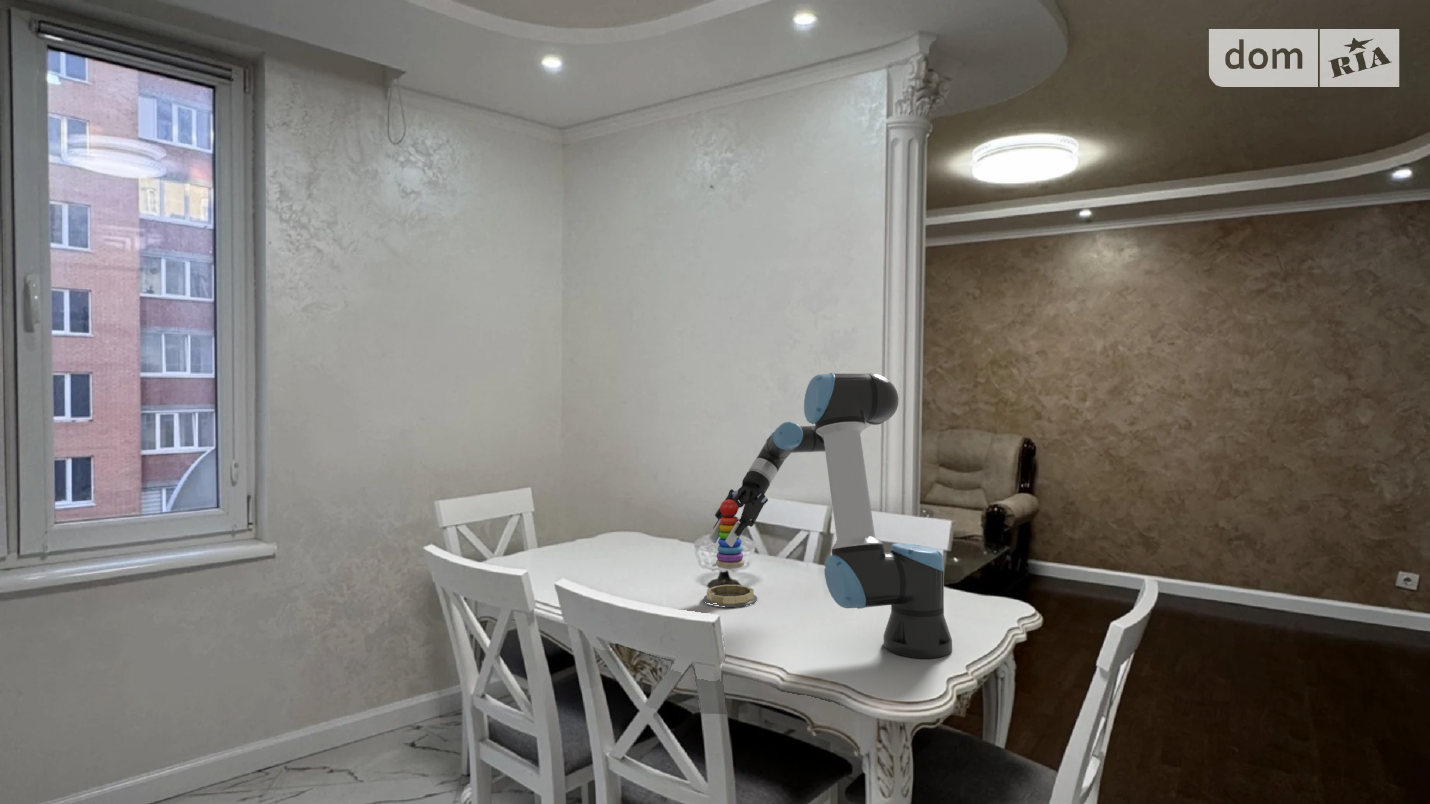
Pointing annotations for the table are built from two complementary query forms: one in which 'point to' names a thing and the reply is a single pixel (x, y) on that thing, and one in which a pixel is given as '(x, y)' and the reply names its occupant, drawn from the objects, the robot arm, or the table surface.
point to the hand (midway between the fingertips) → (720, 542)
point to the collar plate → (730, 595)
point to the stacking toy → (726, 554)
